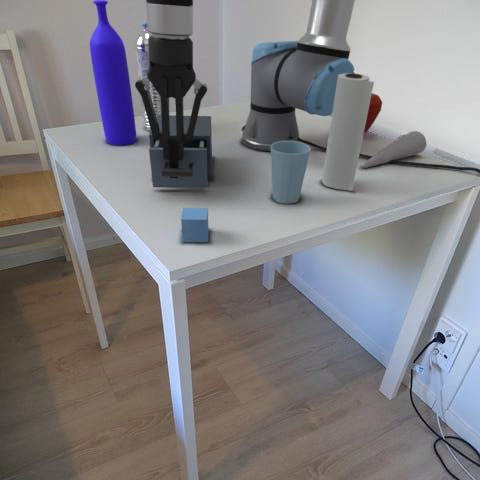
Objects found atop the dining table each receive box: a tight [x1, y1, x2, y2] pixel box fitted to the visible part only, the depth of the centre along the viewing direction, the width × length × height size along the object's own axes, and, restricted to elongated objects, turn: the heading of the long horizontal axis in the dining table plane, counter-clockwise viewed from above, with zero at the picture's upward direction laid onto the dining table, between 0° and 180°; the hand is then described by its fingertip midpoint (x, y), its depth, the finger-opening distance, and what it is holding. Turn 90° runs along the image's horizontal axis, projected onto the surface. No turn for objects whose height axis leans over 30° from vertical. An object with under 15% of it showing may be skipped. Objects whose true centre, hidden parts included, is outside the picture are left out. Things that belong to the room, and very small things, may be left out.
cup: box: [270, 141, 311, 205], centre depth 85 cm, size 8×8×10 cm
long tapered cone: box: [360, 130, 427, 169], centre depth 104 cm, size 6×6×19 cm
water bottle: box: [134, 22, 161, 132], centre depth 114 cm, size 7×7×25 cm
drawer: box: [148, 139, 209, 189], centre depth 90 cm, size 18×11×8 cm, turn 2°
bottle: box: [89, 0, 137, 146], centre depth 104 cm, size 8×8×30 cm
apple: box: [363, 92, 383, 135], centre depth 118 cm, size 11×11×12 cm
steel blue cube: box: [180, 207, 209, 243], centre depth 74 cm, size 4×4×4 cm
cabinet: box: [148, 114, 213, 182], centre depth 97 cm, size 15×13×10 cm
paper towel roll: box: [321, 73, 375, 192], centre depth 87 cm, size 7×6×21 cm
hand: (174, 175), depth 86 cm, fingers closed
